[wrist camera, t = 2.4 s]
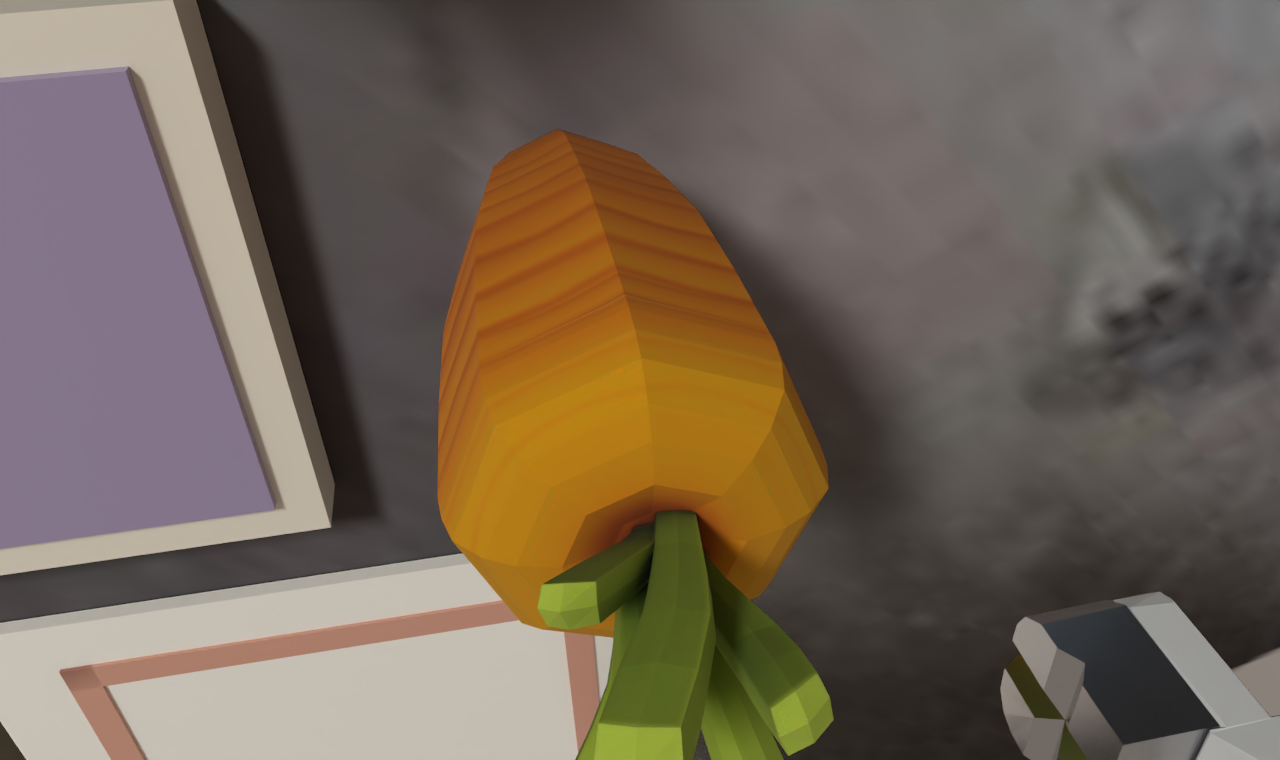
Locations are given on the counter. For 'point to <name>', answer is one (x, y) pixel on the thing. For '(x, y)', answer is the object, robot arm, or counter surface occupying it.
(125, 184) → the ink pad
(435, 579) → the print card
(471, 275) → the carrot
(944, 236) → the counter surface
